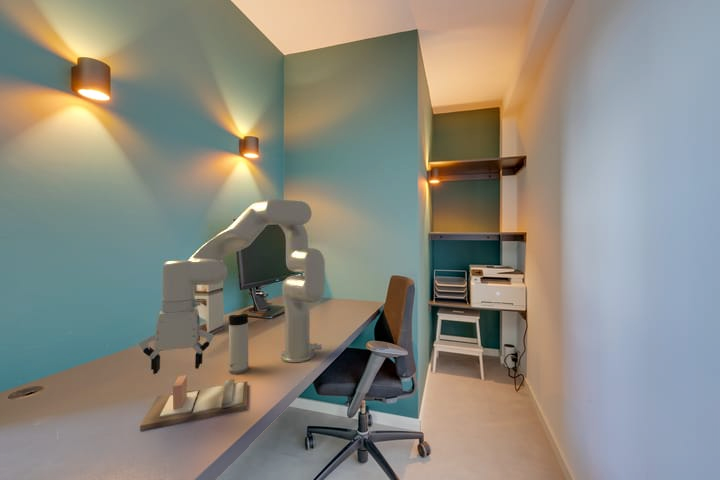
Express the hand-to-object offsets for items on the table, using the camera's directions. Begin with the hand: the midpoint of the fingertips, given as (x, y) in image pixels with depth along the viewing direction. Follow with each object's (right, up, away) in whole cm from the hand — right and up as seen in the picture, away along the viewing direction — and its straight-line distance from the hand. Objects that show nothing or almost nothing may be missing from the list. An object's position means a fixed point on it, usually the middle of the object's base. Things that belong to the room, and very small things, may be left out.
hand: (177, 369), depth 78 cm
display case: (-27, -11, +65) cm, 71 cm away
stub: (0, -10, +1) cm, 10 cm away
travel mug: (+7, -11, +23) cm, 27 cm away
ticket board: (+5, -11, +2) cm, 12 cm away
